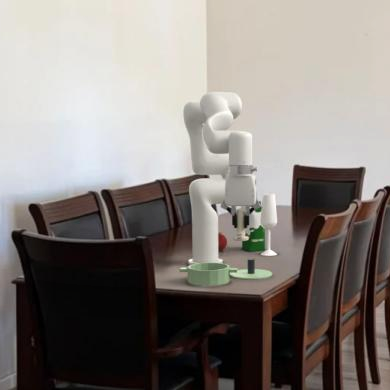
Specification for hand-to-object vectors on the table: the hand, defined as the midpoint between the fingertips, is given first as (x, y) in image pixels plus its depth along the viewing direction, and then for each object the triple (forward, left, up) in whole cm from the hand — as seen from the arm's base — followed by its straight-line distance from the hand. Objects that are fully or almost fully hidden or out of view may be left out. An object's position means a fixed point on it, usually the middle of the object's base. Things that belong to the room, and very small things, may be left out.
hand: (240, 227), depth 252 cm
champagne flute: (-57, +5, -20) cm, 60 cm away
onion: (-62, -15, -20) cm, 67 cm away
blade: (0, 0, -4) cm, 4 cm away
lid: (-15, +2, -19) cm, 24 cm away
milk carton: (-67, -2, -20) cm, 70 cm away
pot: (-5, -11, -19) cm, 23 cm away
